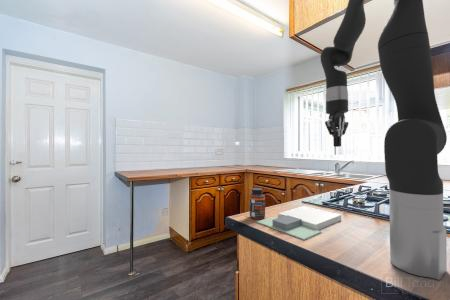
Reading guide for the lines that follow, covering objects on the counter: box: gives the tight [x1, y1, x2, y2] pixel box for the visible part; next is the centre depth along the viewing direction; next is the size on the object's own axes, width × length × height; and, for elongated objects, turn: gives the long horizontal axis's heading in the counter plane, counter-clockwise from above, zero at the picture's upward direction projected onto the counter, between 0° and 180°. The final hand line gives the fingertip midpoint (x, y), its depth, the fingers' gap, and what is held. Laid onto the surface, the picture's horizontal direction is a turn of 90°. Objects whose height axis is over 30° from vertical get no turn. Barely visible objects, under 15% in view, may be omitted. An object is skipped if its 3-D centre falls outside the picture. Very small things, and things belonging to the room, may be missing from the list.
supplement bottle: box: [249, 187, 266, 220], centre depth 88 cm, size 6×6×11 cm
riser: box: [277, 205, 342, 231], centre depth 84 cm, size 16×16×2 cm
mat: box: [256, 216, 322, 241], centre depth 77 cm, size 20×9×1 cm, turn 36°
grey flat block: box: [273, 215, 302, 231], centre depth 78 cm, size 6×8×2 cm
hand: (337, 146), depth 85 cm, fingers closed
